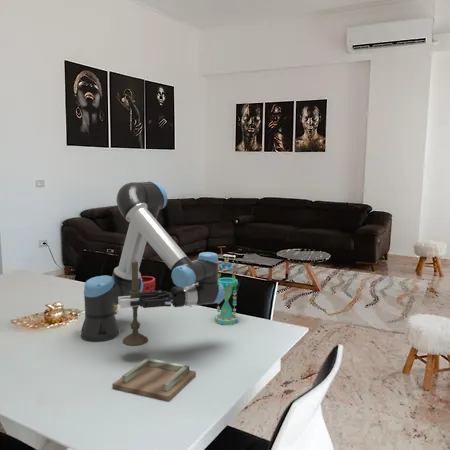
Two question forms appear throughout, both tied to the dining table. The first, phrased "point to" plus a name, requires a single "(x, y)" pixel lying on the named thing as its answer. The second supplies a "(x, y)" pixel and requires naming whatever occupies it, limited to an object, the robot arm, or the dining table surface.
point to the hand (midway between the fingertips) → (119, 302)
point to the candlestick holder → (135, 313)
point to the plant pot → (148, 284)
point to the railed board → (155, 379)
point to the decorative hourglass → (227, 298)
